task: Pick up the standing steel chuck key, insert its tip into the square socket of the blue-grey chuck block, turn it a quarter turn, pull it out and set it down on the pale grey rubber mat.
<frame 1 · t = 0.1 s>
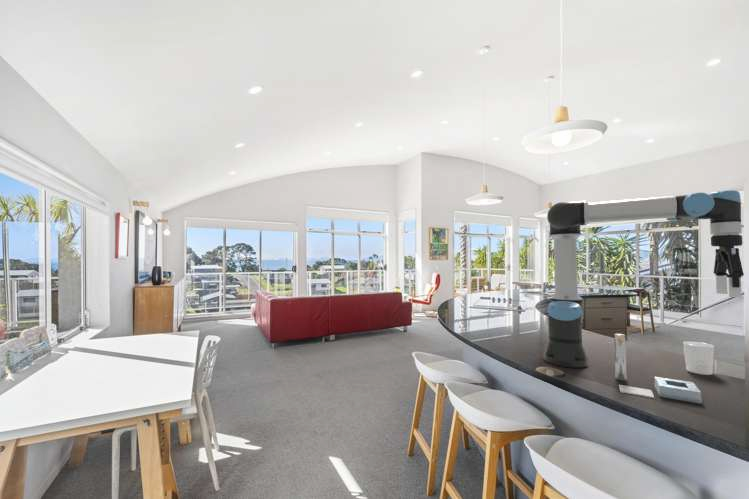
hand: (728, 295, 114), 28 cm above the table, fingers open, 13 cm apart
white cup: (699, 372, 118), on the table
chuck key: (620, 378, 111), on the table
chuck block: (676, 394, 98), on the table
mat: (635, 391, 100), on the table
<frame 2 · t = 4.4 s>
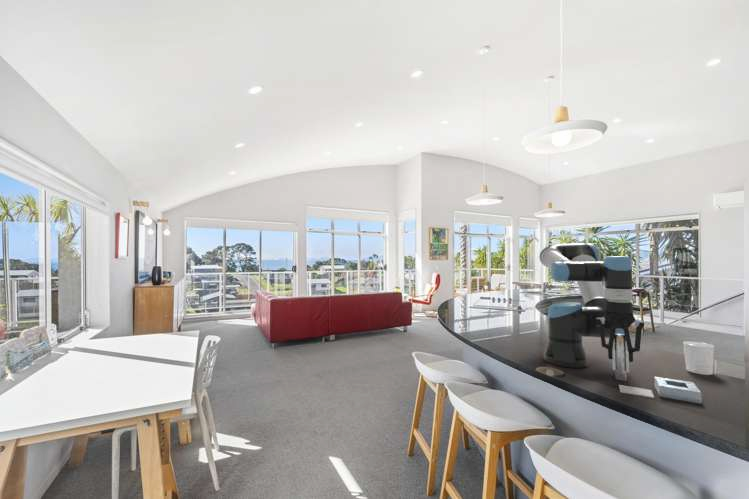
hand: (620, 369, 111), 3 cm above the table, fingers closed on chuck key, 3 cm apart
chuck key: (620, 378, 111), on the table, touching gripper
everything else where it was.
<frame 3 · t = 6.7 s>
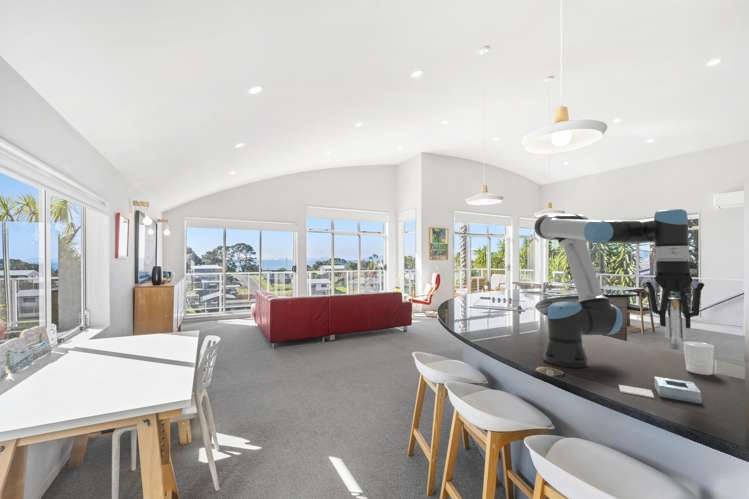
hand: (675, 338, 98), 17 cm above the table, fingers closed on chuck key, 3 cm apart
chuck key: (675, 348, 98), point 14 cm above the table, touching gripper
everything else where it was.
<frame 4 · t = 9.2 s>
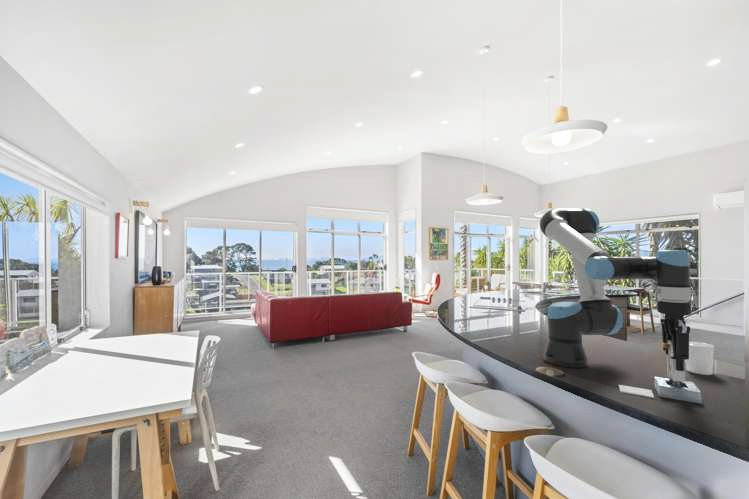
hand: (676, 378, 98), 5 cm above the table, fingers closed on chuck key, 3 cm apart
chuck key: (676, 391, 98), point 1 cm above the table, touching gripper
everything else where it was.
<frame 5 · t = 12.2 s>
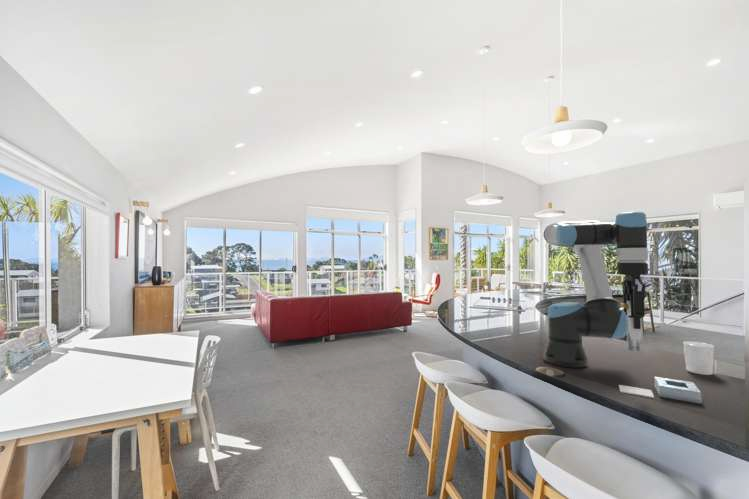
hand: (634, 337, 101), 17 cm above the table, fingers closed on chuck key, 3 cm apart
chuck key: (634, 350, 101), point 13 cm above the table, touching gripper
everything else where it was.
when the fingers open (4 cm above the table, at t = 14.4 s): chuck key stays where it is, resting on mat.
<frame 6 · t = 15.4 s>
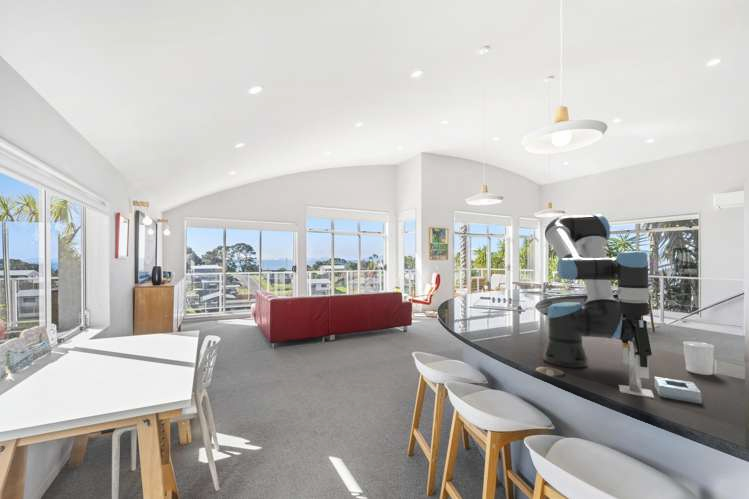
hand: (635, 370, 100), 7 cm above the table, fingers open, 13 cm apart
chuck key: (635, 390, 100), resting on mat
everything else where it was.
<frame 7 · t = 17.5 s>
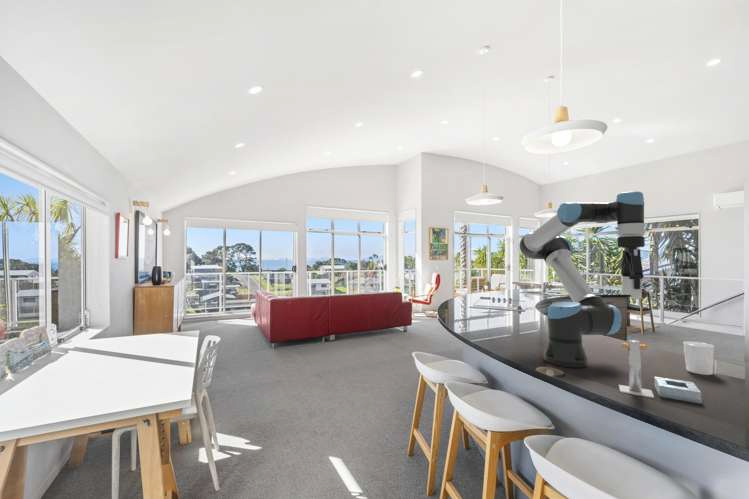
hand: (631, 296, 114), 28 cm above the table, fingers open, 13 cm apart
nothing on the table moved.
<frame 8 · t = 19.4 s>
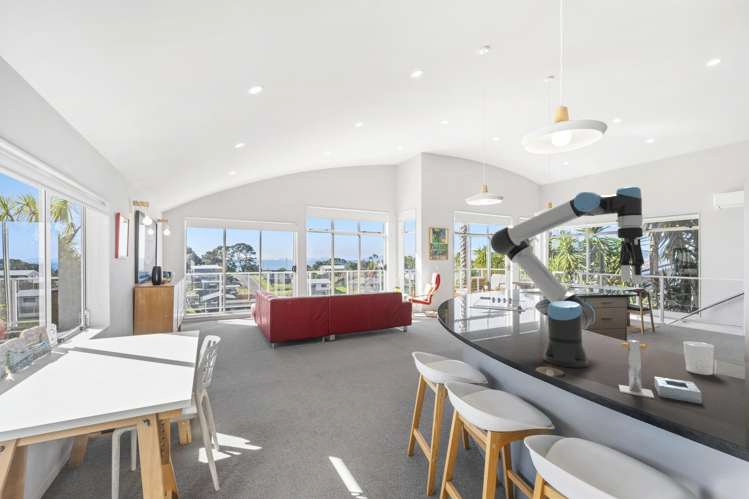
hand: (631, 282, 125), 32 cm above the table, fingers open, 13 cm apart
nothing on the table moved.
at the end: chuck key inside the target area (0.1 cm from its centre), resting on mat; the gripper is holding nothing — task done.
